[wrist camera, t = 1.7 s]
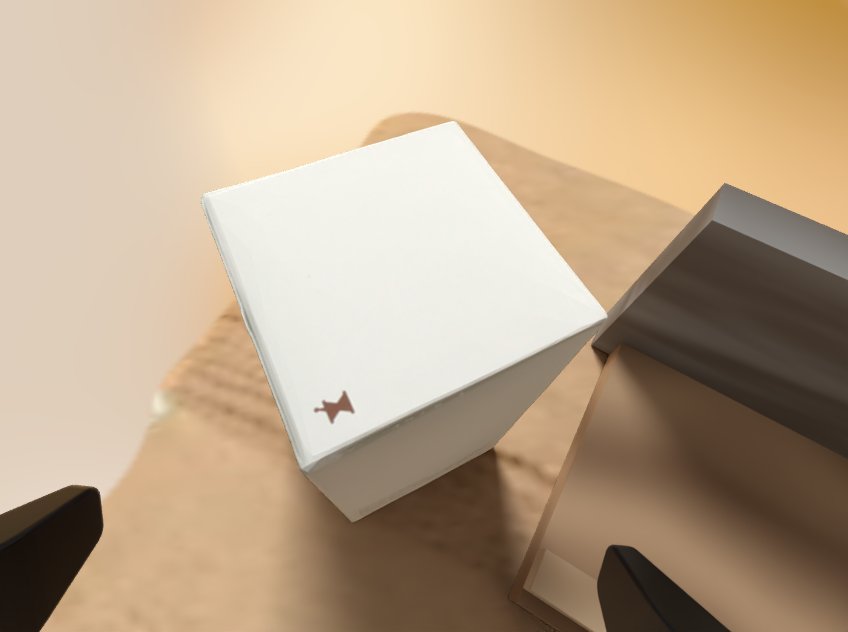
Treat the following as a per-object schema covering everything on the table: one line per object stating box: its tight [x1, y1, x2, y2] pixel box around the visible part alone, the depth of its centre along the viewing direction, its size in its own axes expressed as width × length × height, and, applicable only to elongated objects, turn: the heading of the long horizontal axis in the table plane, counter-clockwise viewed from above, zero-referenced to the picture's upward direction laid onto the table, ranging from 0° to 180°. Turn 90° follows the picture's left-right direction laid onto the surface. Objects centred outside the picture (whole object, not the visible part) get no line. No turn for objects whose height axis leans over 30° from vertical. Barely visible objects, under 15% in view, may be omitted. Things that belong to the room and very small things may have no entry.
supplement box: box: [201, 121, 608, 522], centre depth 16 cm, size 7×7×13 cm
